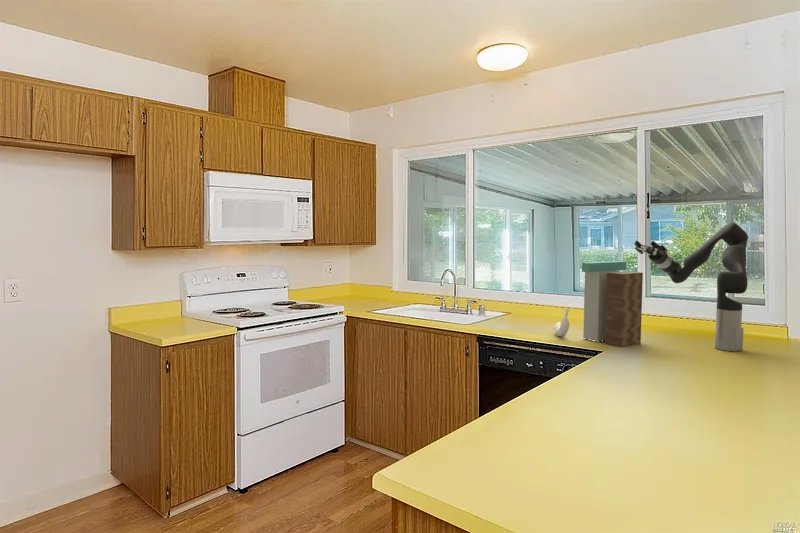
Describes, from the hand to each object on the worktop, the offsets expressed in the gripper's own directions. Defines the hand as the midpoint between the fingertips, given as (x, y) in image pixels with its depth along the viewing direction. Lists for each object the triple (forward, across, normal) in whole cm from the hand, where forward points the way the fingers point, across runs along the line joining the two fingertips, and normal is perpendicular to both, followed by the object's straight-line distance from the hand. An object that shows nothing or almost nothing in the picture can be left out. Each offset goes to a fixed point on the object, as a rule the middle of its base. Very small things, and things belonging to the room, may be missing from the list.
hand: (643, 242), depth 255 cm
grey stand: (+1, +2, -53) cm, 53 cm away
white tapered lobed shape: (+11, +16, -58) cm, 61 cm away
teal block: (+16, +2, -24) cm, 29 cm away
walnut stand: (+1, -10, -53) cm, 54 cm away
